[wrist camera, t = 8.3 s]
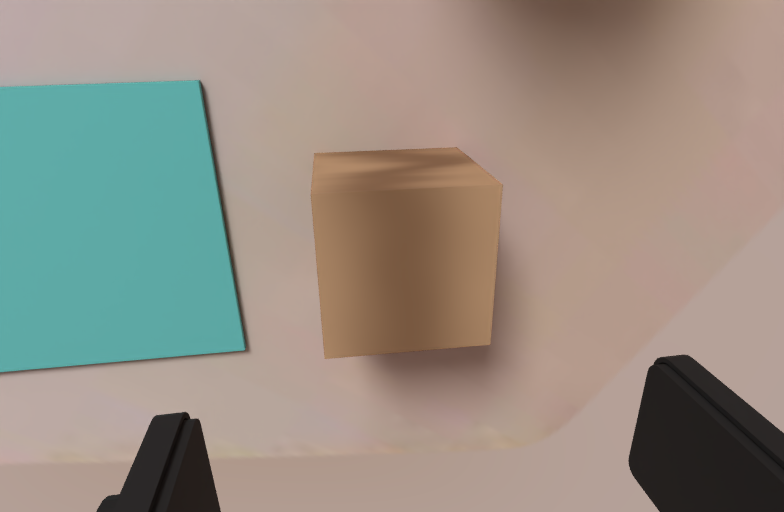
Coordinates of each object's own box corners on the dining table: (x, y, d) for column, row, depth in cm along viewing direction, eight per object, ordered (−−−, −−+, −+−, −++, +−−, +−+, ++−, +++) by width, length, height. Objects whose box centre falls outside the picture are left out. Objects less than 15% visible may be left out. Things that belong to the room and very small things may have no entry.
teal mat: (200, 80, 19) (198, 80, 18) (245, 346, 23) (244, 350, 23) (-152, 92, 17) (-160, 92, 17) (-26, 370, 22) (-31, 374, 22)
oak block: (456, 146, 21) (502, 184, 16) (451, 273, 23) (490, 344, 18) (314, 152, 20) (310, 194, 15) (324, 282, 23) (324, 358, 17)
